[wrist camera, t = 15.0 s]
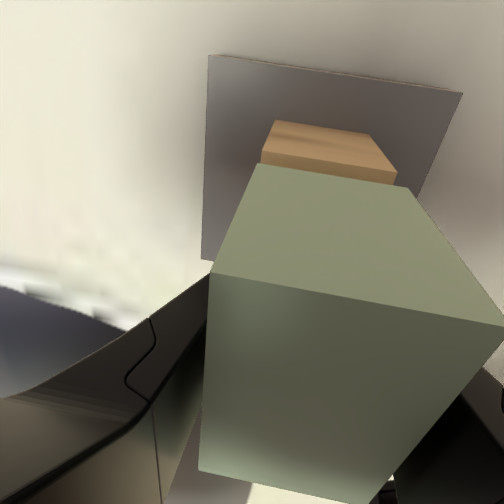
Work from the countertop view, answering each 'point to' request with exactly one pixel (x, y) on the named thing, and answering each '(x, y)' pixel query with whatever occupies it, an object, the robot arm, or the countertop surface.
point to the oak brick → (327, 152)
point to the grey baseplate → (311, 113)
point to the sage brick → (334, 334)
